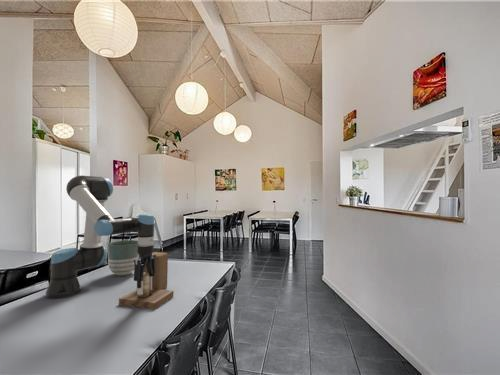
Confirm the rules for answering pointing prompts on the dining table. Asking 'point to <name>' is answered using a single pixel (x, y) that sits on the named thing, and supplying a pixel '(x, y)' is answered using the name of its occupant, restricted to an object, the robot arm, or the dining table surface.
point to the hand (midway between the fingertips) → (144, 291)
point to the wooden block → (160, 270)
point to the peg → (145, 286)
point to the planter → (122, 256)
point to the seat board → (151, 302)
